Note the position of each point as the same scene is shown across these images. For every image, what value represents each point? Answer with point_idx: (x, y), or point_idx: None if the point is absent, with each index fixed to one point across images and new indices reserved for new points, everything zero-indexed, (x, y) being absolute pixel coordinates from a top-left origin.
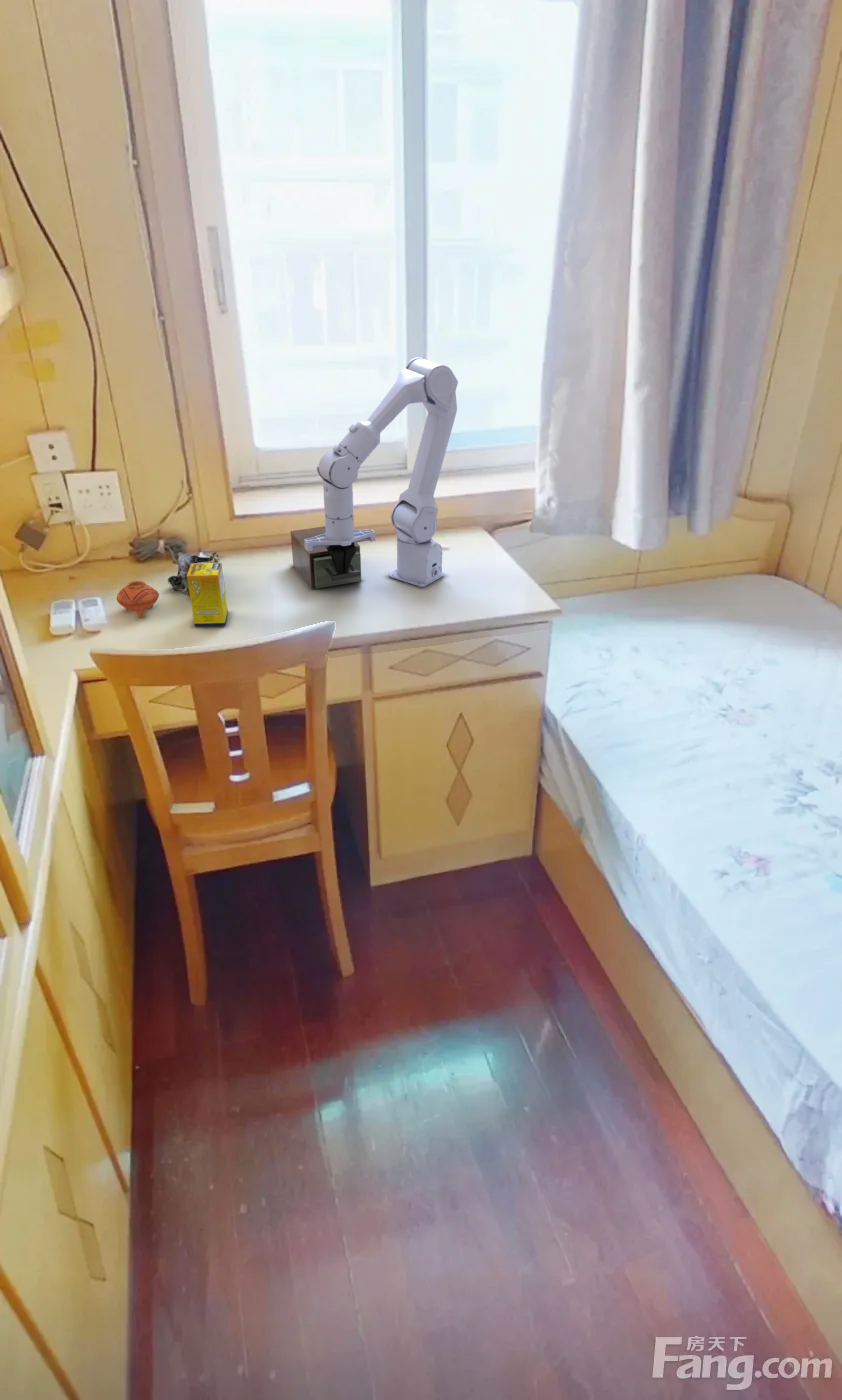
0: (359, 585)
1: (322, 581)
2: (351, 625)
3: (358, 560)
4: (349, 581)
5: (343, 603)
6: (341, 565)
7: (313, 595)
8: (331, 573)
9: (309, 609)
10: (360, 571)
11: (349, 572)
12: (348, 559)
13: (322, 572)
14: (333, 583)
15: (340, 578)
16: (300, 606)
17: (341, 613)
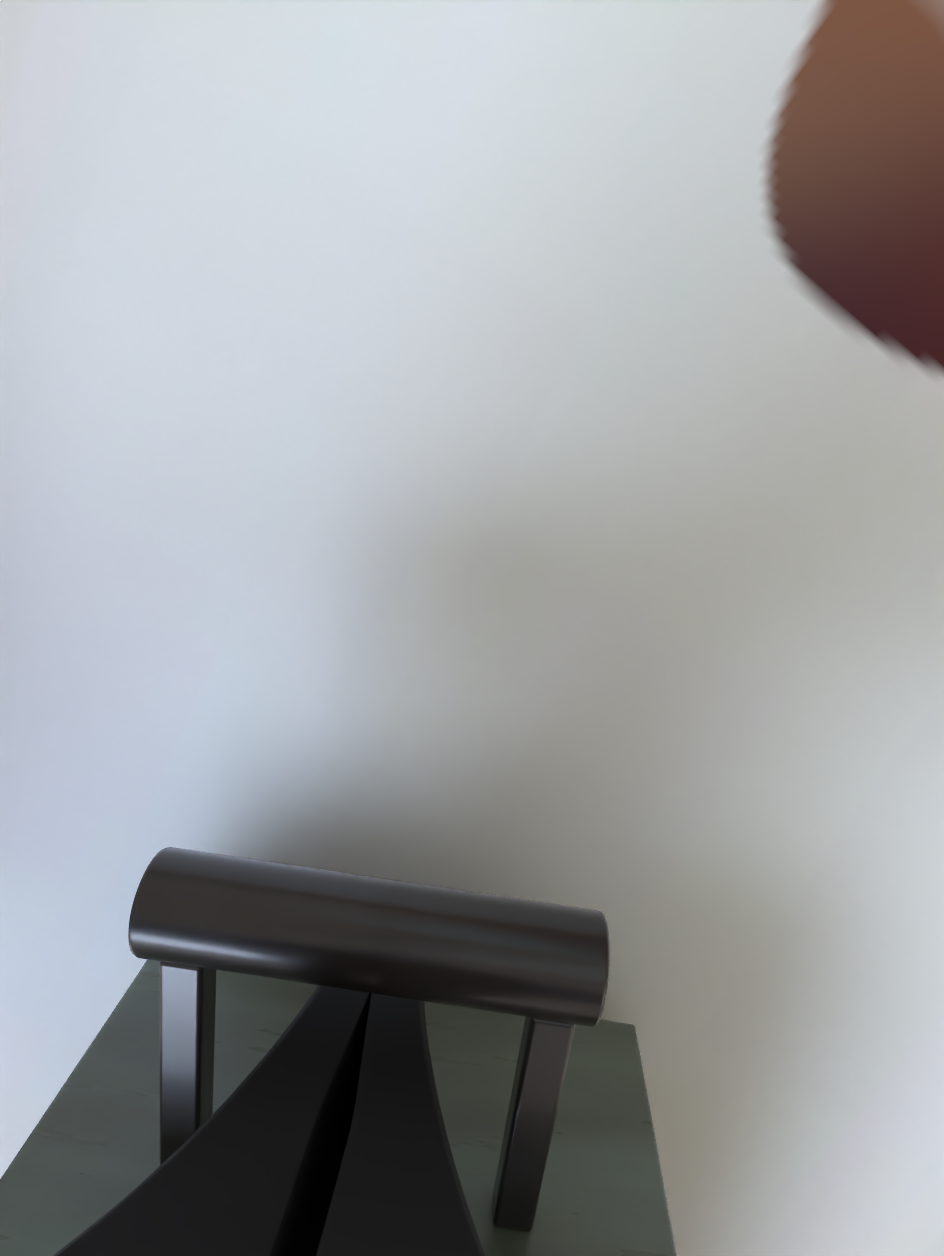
0: None
1: (574, 1075)
2: (733, 60)
3: (25, 1192)
4: (274, 983)
5: (516, 663)
6: (380, 1135)
7: (689, 960)
8: (546, 1075)
9: (905, 721)
10: (98, 1041)
11: (305, 953)
12: (209, 1207)
13: (577, 1184)
14: (450, 1017)
15: (487, 903)
16: (940, 826)
17: (661, 452)
